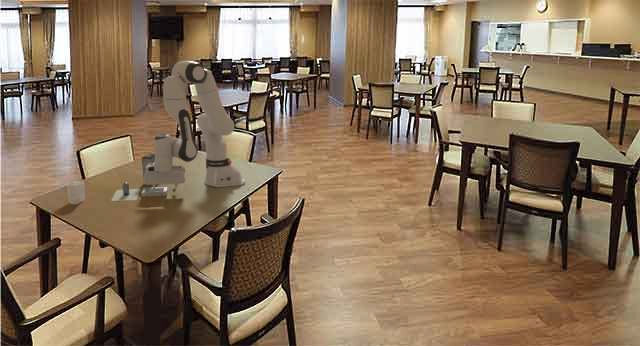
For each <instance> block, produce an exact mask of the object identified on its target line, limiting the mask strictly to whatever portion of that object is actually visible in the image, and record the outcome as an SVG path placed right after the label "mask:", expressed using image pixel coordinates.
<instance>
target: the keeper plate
mask: <svg viewBox="0 0 640 346" xmlns="http://www.w3.org/2000/svg"><path fill="white" fill-rule="evenodd" d="M141 189H142V188H129V195H127V196H124V195H123V189H117V190H116V191H115V192H114V194H113V196H112V198H111V200H110V202H116V201H117V202H118V201H137V200H138V197H139V194H140V192H141Z"/></svg>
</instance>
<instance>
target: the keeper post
mask: <svg viewBox="0 0 640 346" xmlns="http://www.w3.org/2000/svg"><path fill="white" fill-rule="evenodd" d="M121 187H122V190H123V195H124V196H127V195H129V189H130V183H128V182H127V181H126V182H123V183H122V186H121Z"/></svg>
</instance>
